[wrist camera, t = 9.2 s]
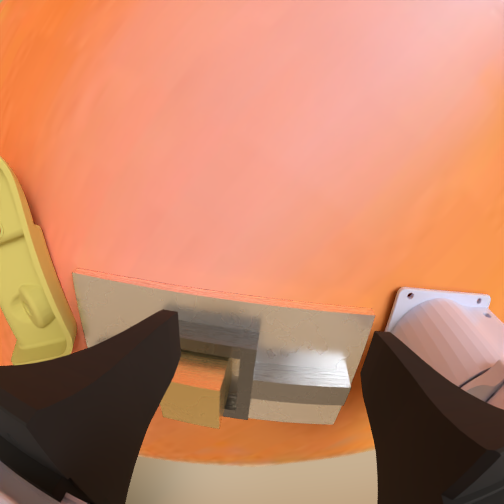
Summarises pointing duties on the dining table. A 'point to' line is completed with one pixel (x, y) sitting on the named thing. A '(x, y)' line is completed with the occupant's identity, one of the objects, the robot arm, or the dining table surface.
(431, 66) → the dining table surface
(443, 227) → the dining table surface
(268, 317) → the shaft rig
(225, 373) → the tan small block
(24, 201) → the plastic component
